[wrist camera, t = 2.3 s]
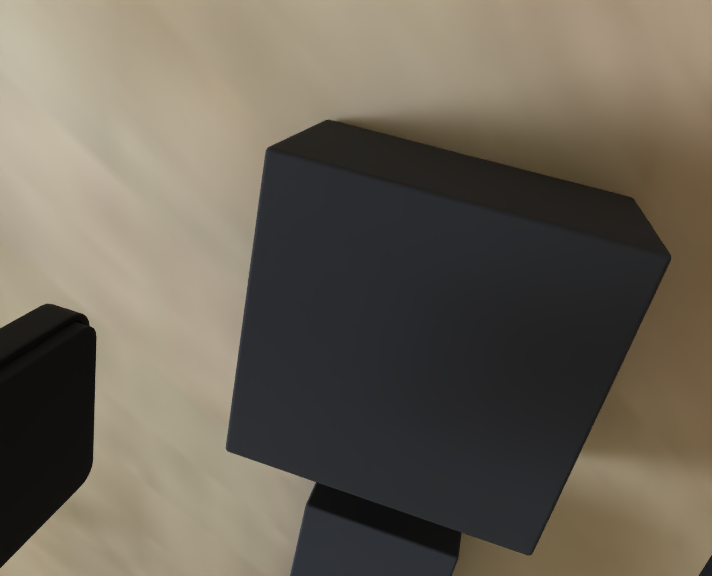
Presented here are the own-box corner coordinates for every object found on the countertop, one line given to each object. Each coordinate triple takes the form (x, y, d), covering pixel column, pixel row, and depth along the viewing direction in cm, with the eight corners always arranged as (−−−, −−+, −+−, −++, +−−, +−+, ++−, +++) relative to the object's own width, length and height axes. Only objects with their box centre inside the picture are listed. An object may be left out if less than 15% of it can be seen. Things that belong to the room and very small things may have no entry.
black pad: (325, 117, 13) (264, 146, 10) (635, 197, 12) (674, 256, 9) (282, 368, 16) (223, 451, 13) (529, 448, 15) (531, 559, 12)
